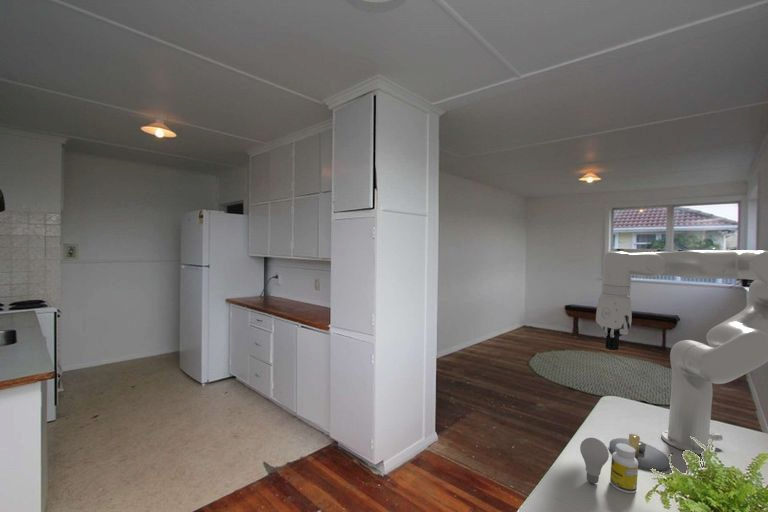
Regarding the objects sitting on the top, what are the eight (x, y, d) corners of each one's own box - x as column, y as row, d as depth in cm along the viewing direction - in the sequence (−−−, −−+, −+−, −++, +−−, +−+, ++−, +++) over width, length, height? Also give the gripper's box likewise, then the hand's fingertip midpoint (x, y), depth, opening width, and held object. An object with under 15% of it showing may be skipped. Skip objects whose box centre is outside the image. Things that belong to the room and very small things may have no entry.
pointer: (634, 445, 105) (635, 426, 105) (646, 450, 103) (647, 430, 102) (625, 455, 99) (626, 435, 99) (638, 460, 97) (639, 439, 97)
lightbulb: (595, 493, 85) (598, 448, 85) (572, 478, 91) (575, 435, 91) (612, 488, 88) (615, 443, 88) (589, 473, 94) (592, 431, 93)
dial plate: (641, 442, 110) (641, 437, 110) (683, 470, 97) (683, 465, 96) (598, 442, 109) (598, 437, 109) (634, 471, 95) (635, 465, 95)
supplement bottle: (605, 478, 91) (607, 440, 91) (627, 480, 91) (629, 442, 91) (618, 493, 86) (621, 453, 86) (641, 495, 86) (644, 454, 86)
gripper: (588, 287, 120) (585, 342, 121) (622, 294, 105) (618, 356, 106) (609, 288, 121) (606, 343, 121) (646, 295, 106) (642, 357, 106)
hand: (611, 349), depth 114 cm, fingers closed
